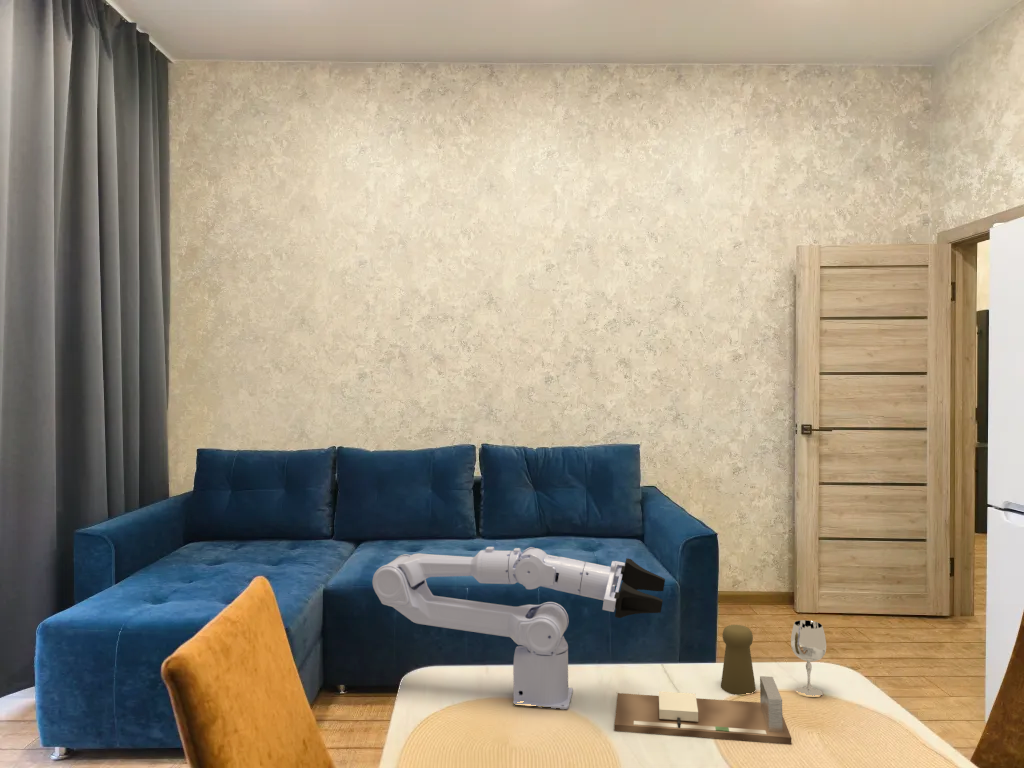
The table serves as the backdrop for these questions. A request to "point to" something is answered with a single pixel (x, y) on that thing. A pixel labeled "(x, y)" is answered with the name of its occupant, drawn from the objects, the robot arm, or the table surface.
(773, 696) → the gray stone tile
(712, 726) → the gauge base
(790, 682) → the table surface
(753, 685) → the cork
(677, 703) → the carriage
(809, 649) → the wineglass
